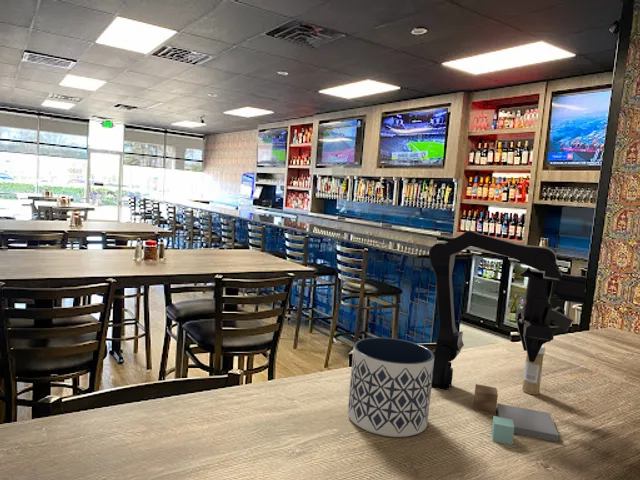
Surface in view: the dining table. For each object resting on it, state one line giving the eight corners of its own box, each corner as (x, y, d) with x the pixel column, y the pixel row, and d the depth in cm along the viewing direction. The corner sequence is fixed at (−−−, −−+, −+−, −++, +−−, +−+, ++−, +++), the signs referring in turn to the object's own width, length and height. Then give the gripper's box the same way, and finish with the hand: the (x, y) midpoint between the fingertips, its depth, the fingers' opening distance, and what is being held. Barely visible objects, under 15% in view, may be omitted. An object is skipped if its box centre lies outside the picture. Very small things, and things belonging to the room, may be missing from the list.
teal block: (492, 441, 104) (494, 423, 104) (491, 432, 108) (493, 415, 108) (512, 445, 103) (514, 427, 103) (510, 436, 107) (512, 419, 107)
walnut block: (474, 410, 119) (476, 391, 119) (473, 402, 124) (475, 384, 123) (495, 414, 118) (497, 395, 117) (494, 406, 122) (496, 387, 122)
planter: (376, 445, 98) (383, 367, 97) (333, 407, 114) (338, 340, 113) (444, 431, 107) (452, 359, 105) (395, 397, 123) (401, 335, 121)
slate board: (500, 430, 109) (501, 423, 109) (496, 409, 121) (497, 403, 121) (557, 441, 106) (558, 435, 106) (548, 418, 118) (549, 412, 117)
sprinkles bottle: (542, 393, 134) (548, 346, 133) (533, 396, 131) (539, 348, 130) (527, 387, 138) (533, 341, 136) (518, 389, 135) (523, 343, 134)
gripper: (582, 309, 111) (571, 374, 112) (564, 294, 129) (555, 351, 130) (530, 301, 114) (520, 365, 115) (519, 288, 132) (511, 343, 133)
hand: (528, 356), depth 123 cm, fingers open, 9 cm apart
